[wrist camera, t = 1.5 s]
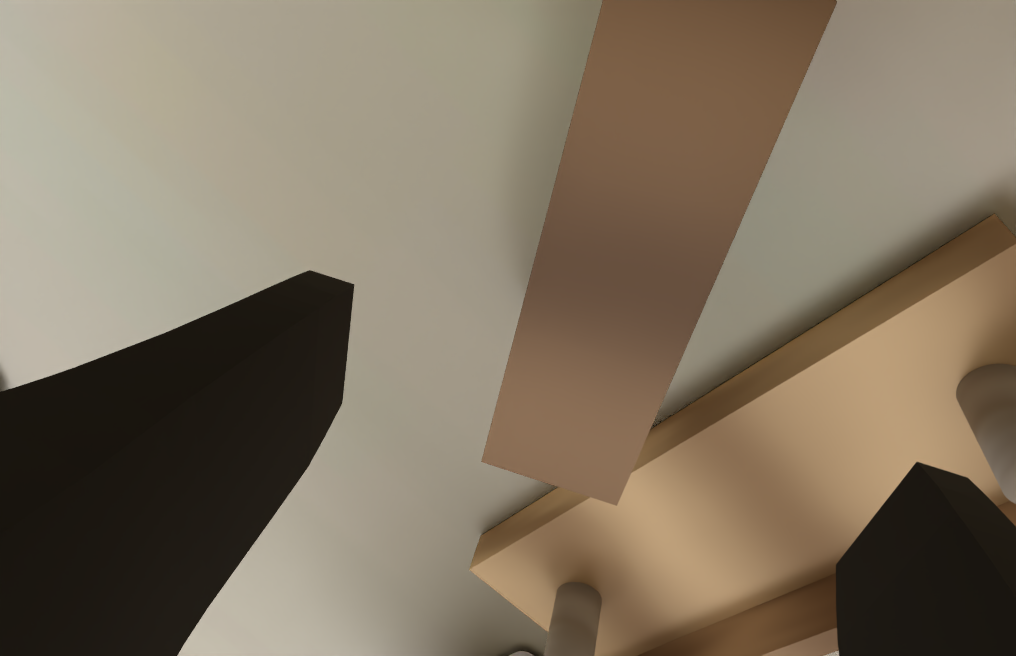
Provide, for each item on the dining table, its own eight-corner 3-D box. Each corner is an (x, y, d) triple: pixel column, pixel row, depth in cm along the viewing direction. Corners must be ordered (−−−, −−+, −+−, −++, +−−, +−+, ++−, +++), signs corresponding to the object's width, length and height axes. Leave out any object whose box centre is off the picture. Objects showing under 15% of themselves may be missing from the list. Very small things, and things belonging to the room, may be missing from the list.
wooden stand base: (617, 646, 27) (603, 770, 23) (480, 535, 25) (442, 648, 21) (1160, 413, 17) (1285, 557, 14) (994, 213, 16) (1085, 315, 12)
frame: (637, 350, 20) (616, 505, 15) (534, 319, 20) (478, 461, 15) (790, -40, 14) (837, 1, 9) (644, -78, 15) (613, -57, 10)
